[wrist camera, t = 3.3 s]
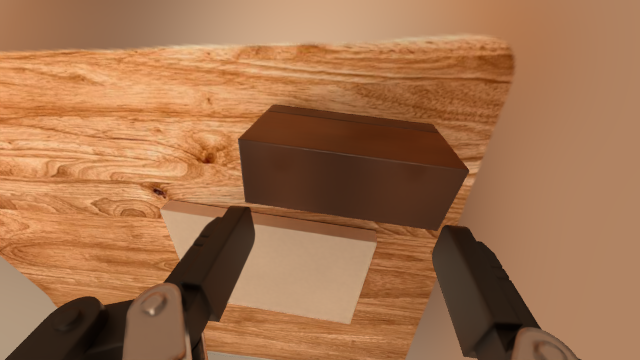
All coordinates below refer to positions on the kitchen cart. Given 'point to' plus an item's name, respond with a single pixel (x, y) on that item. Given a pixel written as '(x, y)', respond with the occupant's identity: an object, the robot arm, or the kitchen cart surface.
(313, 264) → the tile
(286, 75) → the kitchen cart surface
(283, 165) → the dark brown block
